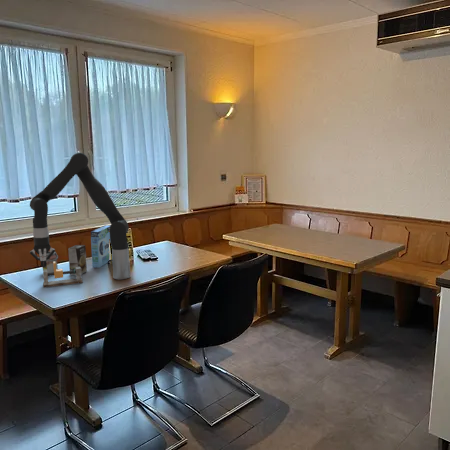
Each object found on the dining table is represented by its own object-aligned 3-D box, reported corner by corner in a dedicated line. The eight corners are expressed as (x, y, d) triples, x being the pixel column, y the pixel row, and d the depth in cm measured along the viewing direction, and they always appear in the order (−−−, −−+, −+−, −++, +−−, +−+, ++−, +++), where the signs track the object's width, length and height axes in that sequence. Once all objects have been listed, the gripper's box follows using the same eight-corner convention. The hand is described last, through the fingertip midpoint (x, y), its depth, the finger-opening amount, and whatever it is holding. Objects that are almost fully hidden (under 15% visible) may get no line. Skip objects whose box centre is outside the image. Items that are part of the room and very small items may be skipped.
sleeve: (62, 275, 240) (61, 260, 239) (63, 277, 237) (62, 262, 235) (54, 276, 239) (53, 261, 237) (54, 278, 235) (53, 263, 234)
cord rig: (81, 279, 246) (80, 265, 244) (82, 282, 241) (81, 268, 239) (43, 284, 238) (42, 269, 237) (43, 287, 233) (42, 272, 231)
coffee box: (79, 275, 253) (77, 248, 250) (69, 274, 255) (67, 248, 252) (87, 271, 262) (85, 245, 259) (77, 270, 263) (75, 244, 260)
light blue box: (106, 259, 288) (104, 225, 283) (113, 259, 287) (111, 225, 283) (92, 267, 269) (89, 231, 265) (99, 268, 268) (97, 231, 264)
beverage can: (61, 272, 259) (60, 253, 257) (47, 275, 253) (46, 255, 251) (54, 269, 265) (52, 250, 263) (40, 272, 259) (38, 252, 257)
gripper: (54, 233, 236) (56, 264, 240) (27, 235, 231) (30, 266, 235) (54, 236, 230) (57, 267, 233) (27, 238, 225) (30, 270, 228)
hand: (43, 267), depth 234 cm, fingers closed
